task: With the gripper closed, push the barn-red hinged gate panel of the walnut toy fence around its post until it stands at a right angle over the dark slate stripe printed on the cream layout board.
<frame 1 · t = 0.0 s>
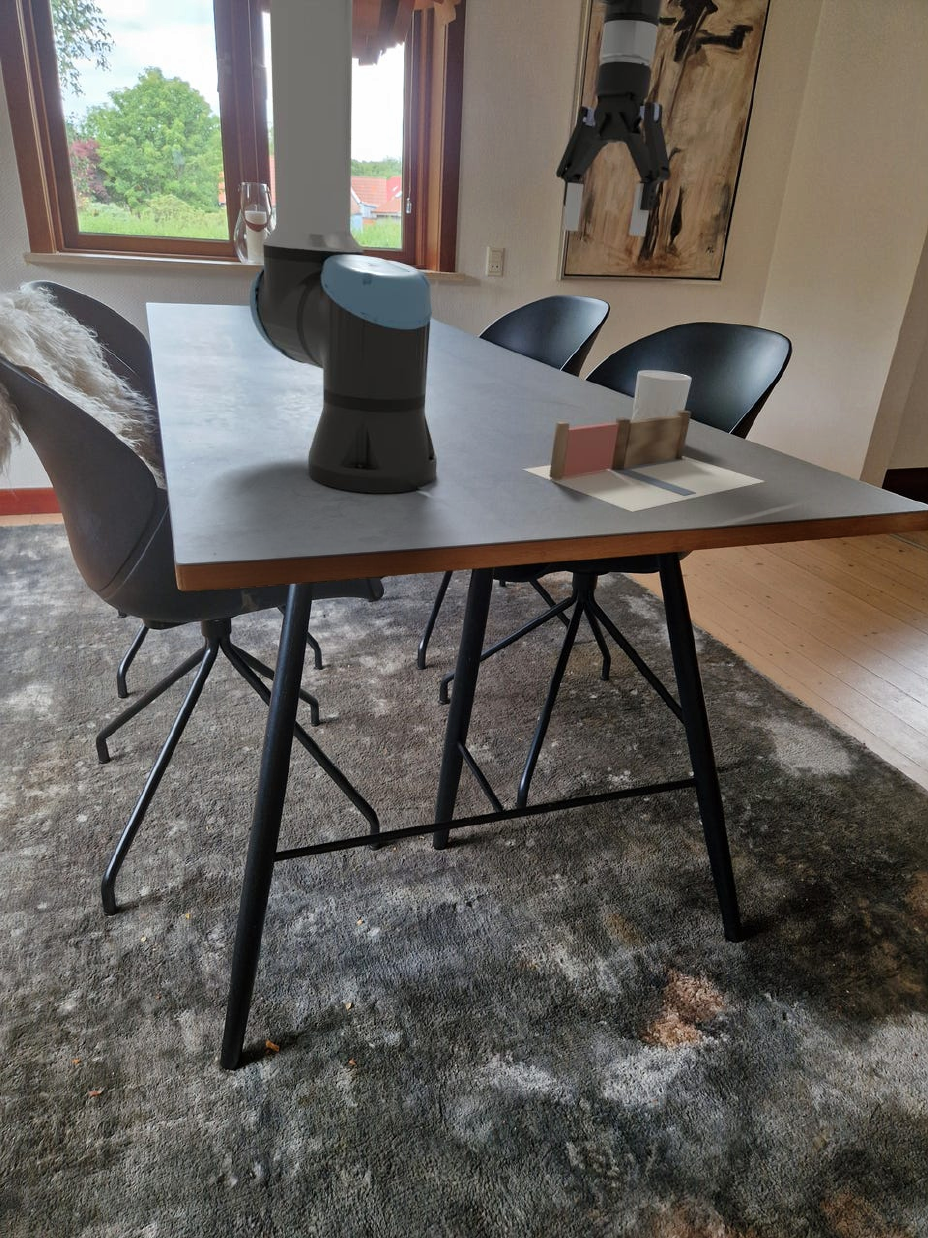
hand: (602, 233, 119), 28 cm above the table, fingers open, 13 cm apart
layout board: (645, 478, 102), on the table
fence gate: (584, 446, 98), point 4 cm above the table, hinge at 0.0°
white cup: (652, 443, 121), on the table
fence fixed: (615, 468, 103), resting on layout board
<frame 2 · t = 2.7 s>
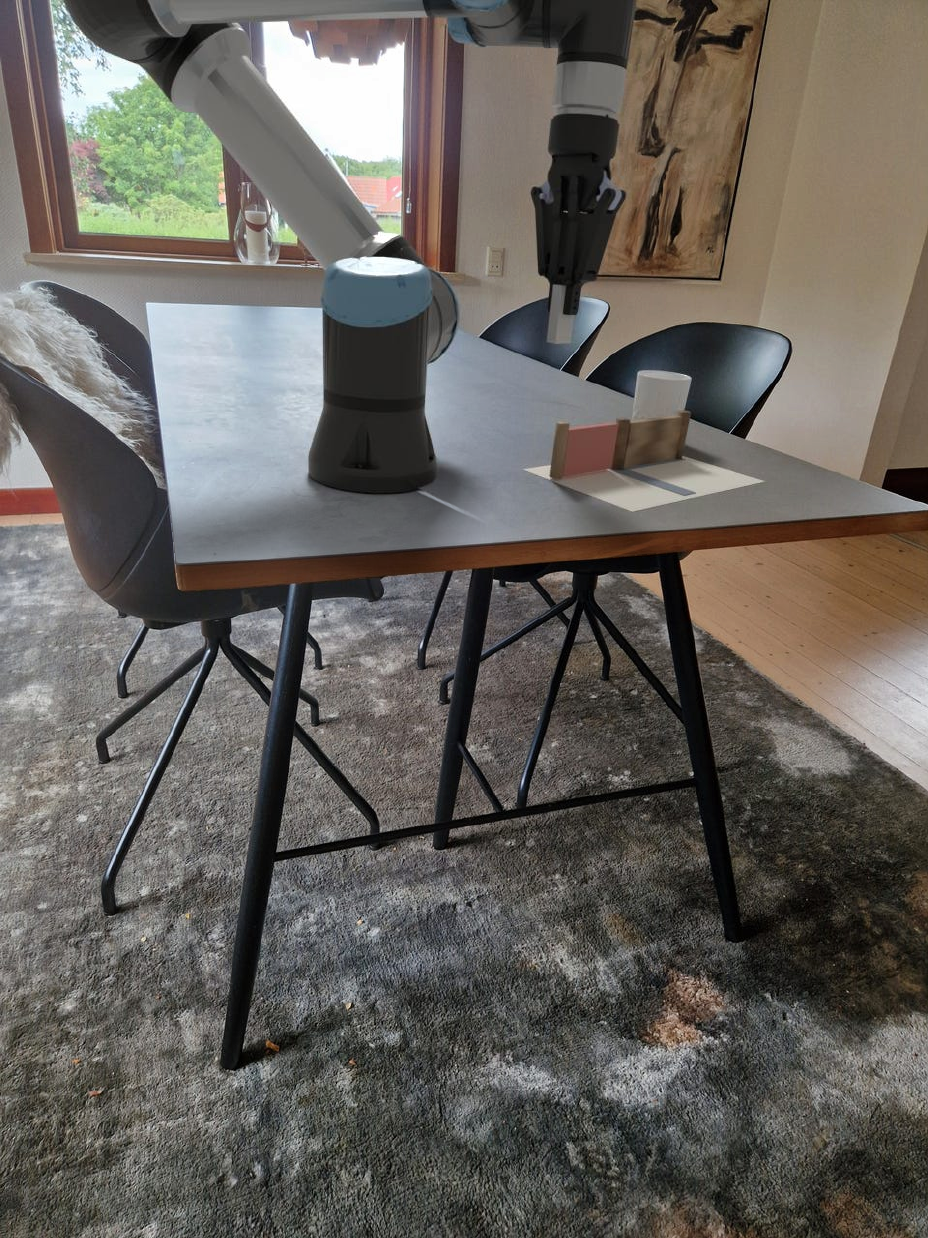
hand: (558, 342, 96), 16 cm above the table, fingers closed
nothing on the table moved.
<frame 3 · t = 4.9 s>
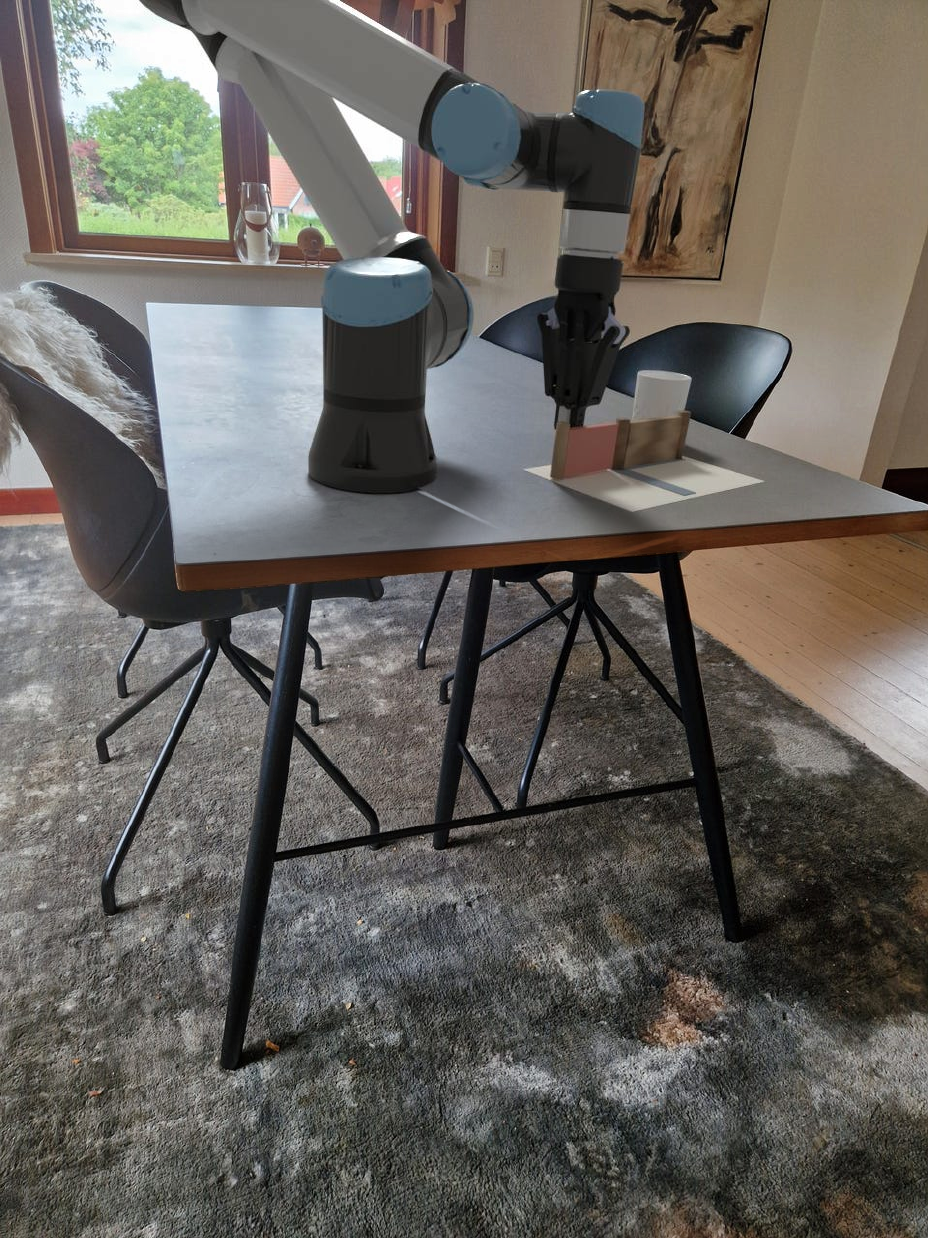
hand: (564, 457, 100), 2 cm above the table, fingers closed
fence gate: (584, 446, 98), point 4 cm above the table, hinge at 0.6°, touching gripper
everything else where it was.
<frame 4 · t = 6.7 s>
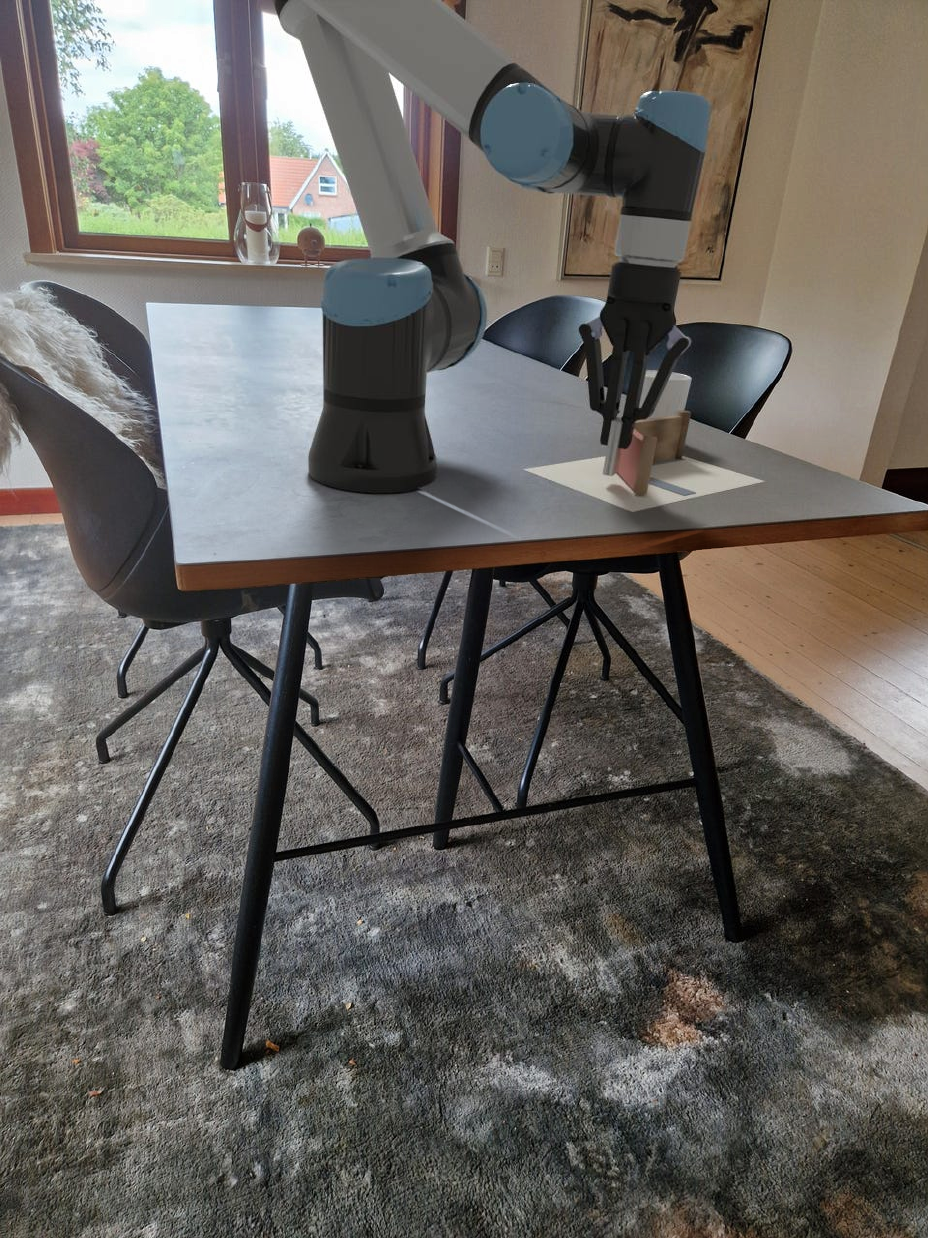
hand: (610, 472, 96), 2 cm above the table, fingers closed
fence gate: (634, 455, 96), point 4 cm above the table, hinge at 56.4°, touching gripper
everything else where it was.
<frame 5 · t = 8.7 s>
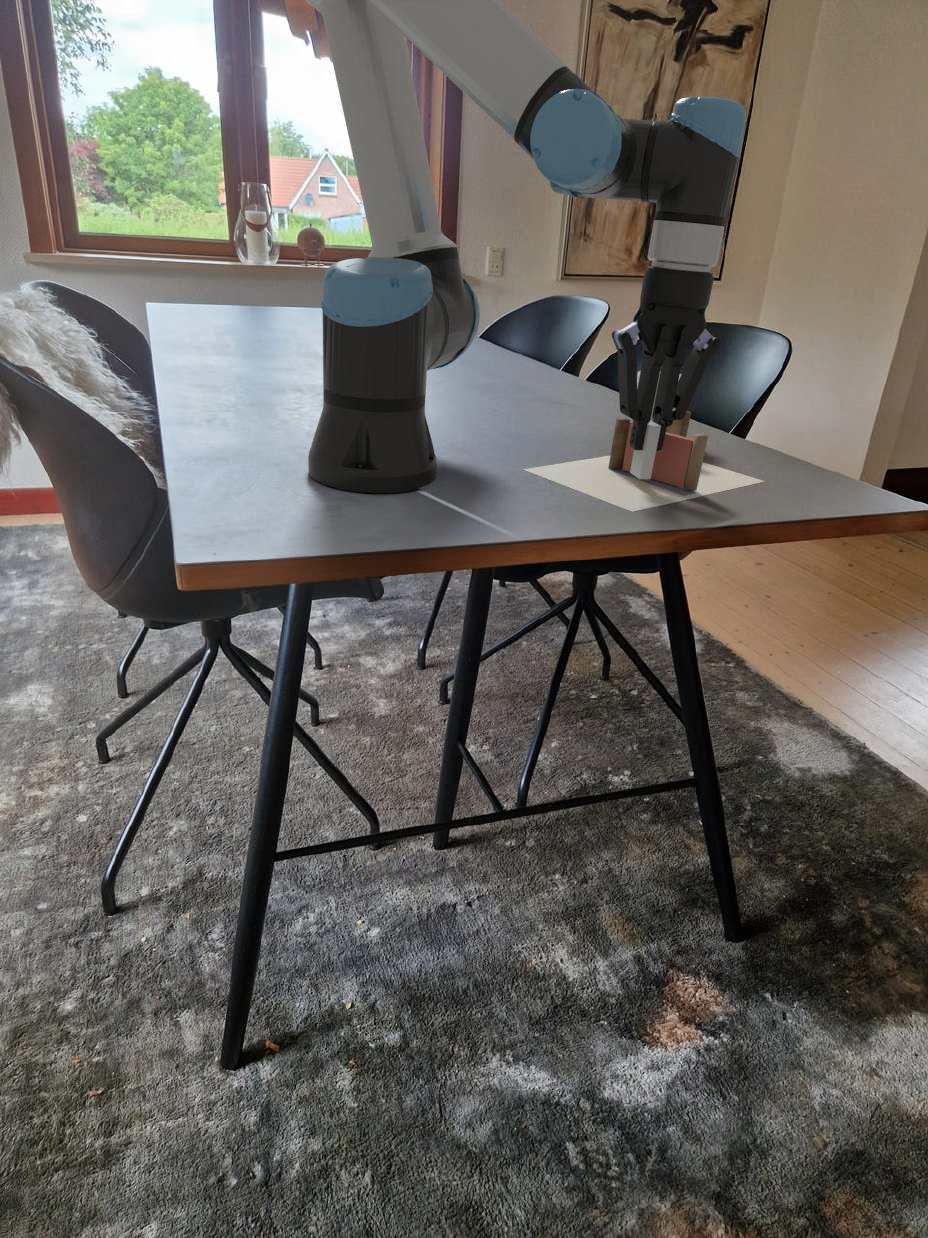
hand: (640, 475, 97), 2 cm above the table, fingers closed
fence gate: (663, 453, 98), point 4 cm above the table, hinge at 96.4°
everything else where it was.
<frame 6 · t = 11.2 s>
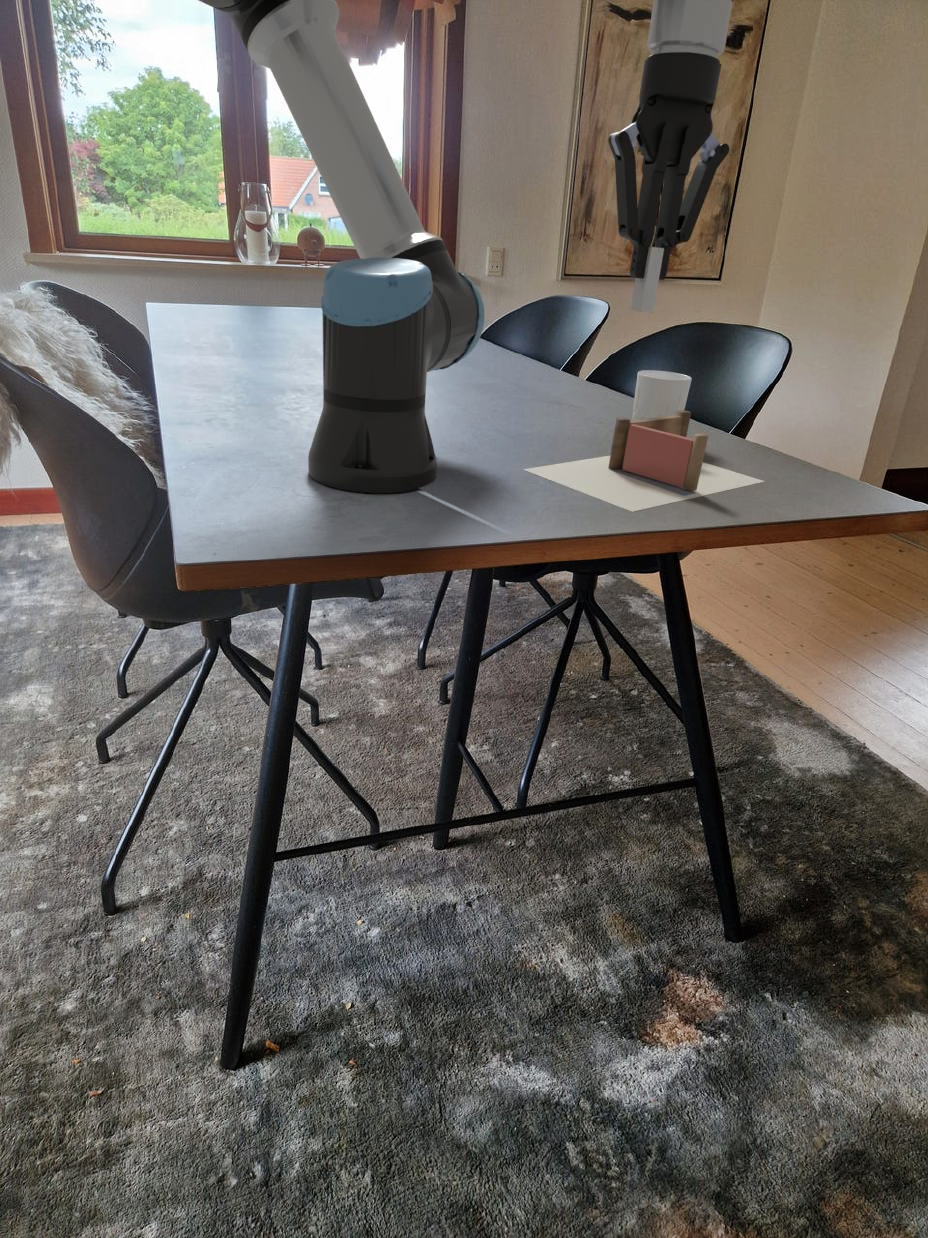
hand: (641, 310, 88), 20 cm above the table, fingers closed
nothing on the table moved.
at the end: fence gate at +96° (first picture: +0°) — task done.
